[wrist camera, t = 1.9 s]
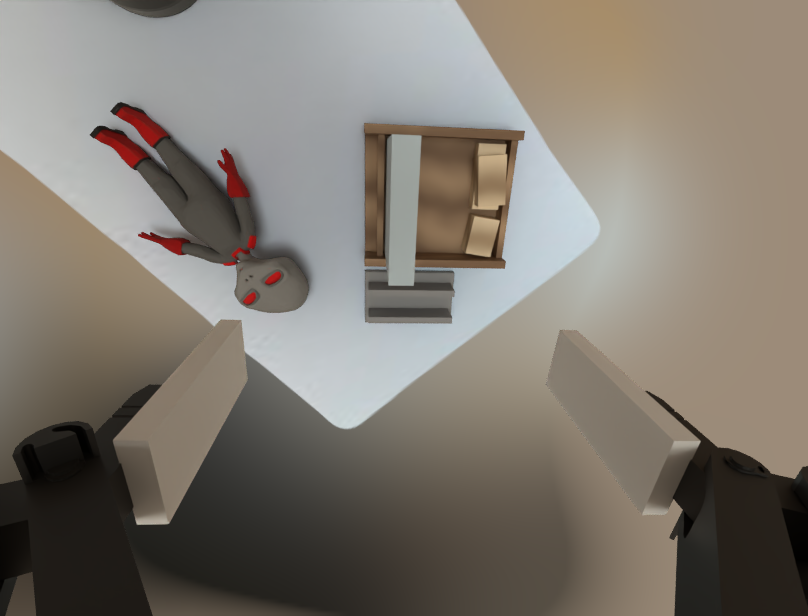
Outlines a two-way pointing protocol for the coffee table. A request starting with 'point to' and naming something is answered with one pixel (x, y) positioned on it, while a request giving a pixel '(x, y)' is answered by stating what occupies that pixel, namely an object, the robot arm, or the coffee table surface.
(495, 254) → the rack
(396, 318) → the stand
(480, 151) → the offcut
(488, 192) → the offcut
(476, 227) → the offcut
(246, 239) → the toy
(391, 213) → the grey flat slab
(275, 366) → the coffee table surface
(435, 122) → the coffee table surface
